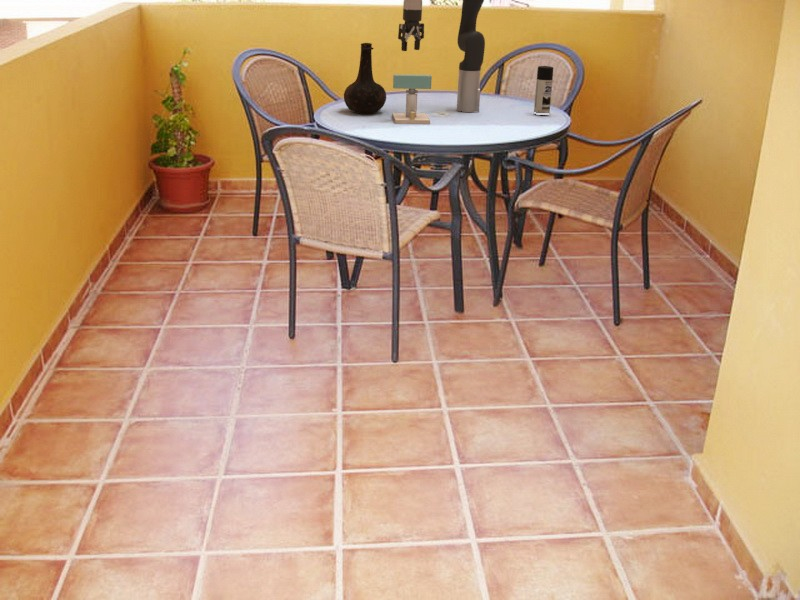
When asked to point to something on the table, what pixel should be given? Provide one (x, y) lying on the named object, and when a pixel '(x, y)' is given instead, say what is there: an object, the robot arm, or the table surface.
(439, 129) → the table surface
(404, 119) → the post base
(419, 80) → the pale green block
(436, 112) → the table surface
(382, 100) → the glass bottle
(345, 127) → the table surface
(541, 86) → the spray can
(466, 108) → the robot arm
